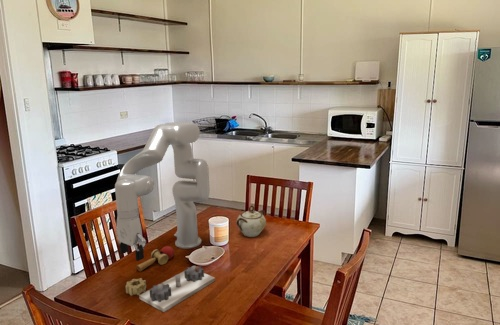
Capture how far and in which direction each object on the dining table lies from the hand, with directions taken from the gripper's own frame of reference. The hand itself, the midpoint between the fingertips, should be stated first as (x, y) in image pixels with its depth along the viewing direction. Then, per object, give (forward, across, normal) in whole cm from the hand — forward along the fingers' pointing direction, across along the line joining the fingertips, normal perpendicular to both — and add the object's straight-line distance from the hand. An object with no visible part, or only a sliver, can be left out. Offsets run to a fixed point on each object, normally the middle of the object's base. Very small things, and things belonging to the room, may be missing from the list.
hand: (132, 256), depth 150 cm
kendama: (+15, -12, +19) cm, 27 cm away
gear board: (+14, +13, +11) cm, 22 cm away
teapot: (+14, +3, +69) cm, 70 cm away
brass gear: (+15, 0, +1) cm, 15 cm away
